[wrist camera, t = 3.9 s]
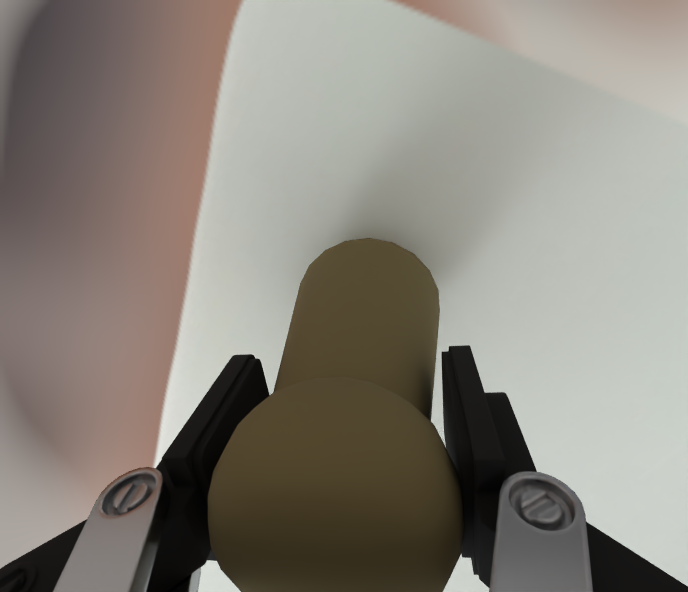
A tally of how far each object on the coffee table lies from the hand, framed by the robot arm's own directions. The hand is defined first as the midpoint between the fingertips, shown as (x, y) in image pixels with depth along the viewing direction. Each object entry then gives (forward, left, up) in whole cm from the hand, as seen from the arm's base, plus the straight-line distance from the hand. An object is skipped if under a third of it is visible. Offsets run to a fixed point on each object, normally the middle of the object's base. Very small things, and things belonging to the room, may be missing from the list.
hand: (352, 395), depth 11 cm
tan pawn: (0, 0, -6) cm, 6 cm away
